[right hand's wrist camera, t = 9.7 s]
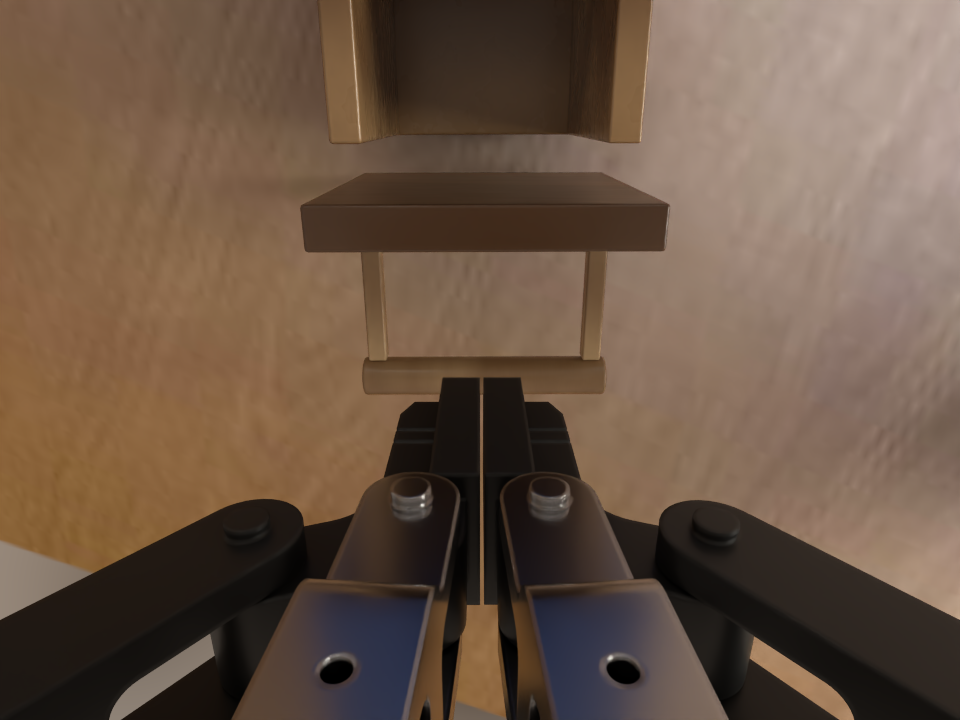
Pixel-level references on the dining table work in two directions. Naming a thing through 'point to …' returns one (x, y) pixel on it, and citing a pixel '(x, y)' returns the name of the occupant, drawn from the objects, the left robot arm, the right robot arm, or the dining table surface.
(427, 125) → the drawer
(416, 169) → the dining table surface
